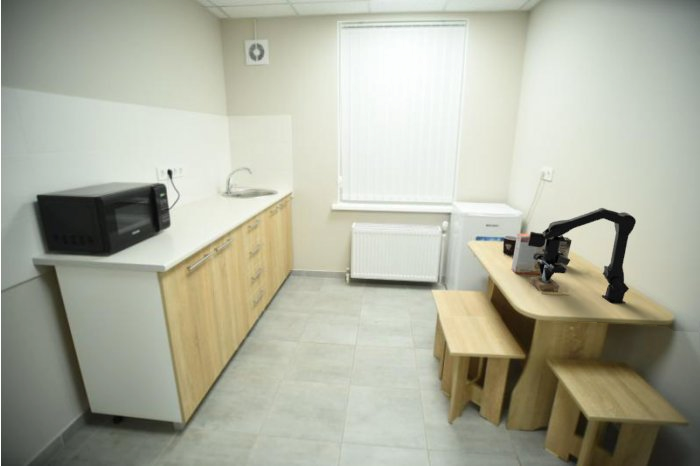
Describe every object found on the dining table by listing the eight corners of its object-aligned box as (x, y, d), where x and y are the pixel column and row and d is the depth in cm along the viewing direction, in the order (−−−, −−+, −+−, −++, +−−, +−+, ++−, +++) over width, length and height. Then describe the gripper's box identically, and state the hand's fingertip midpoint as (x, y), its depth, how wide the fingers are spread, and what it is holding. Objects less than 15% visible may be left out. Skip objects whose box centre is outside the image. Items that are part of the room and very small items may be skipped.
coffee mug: (498, 251, 210) (500, 236, 208) (507, 250, 214) (510, 235, 211) (513, 258, 200) (516, 242, 197) (523, 256, 204) (526, 240, 201)
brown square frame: (558, 292, 158) (559, 285, 157) (538, 291, 158) (540, 284, 157) (548, 283, 166) (549, 277, 165) (529, 283, 167) (531, 276, 166)
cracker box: (536, 270, 183) (544, 233, 177) (542, 274, 177) (549, 237, 171) (510, 269, 184) (517, 232, 178) (514, 273, 178) (521, 236, 172)
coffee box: (548, 265, 190) (553, 238, 185) (544, 261, 196) (550, 235, 191) (565, 267, 188) (572, 240, 183) (561, 263, 194) (567, 236, 189)
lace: (568, 294, 155) (568, 293, 155) (541, 293, 156) (541, 292, 156) (563, 290, 159) (564, 289, 159) (537, 289, 160) (537, 288, 160)
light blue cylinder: (548, 286, 160) (553, 267, 158) (542, 286, 161) (546, 267, 158) (545, 283, 163) (549, 264, 160) (539, 283, 163) (543, 264, 161)
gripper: (581, 256, 147) (574, 288, 152) (558, 243, 165) (552, 272, 170) (555, 255, 148) (548, 287, 152) (535, 242, 166) (529, 271, 170)
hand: (545, 279), depth 161 cm, fingers closed on light blue cylinder, 3 cm apart
